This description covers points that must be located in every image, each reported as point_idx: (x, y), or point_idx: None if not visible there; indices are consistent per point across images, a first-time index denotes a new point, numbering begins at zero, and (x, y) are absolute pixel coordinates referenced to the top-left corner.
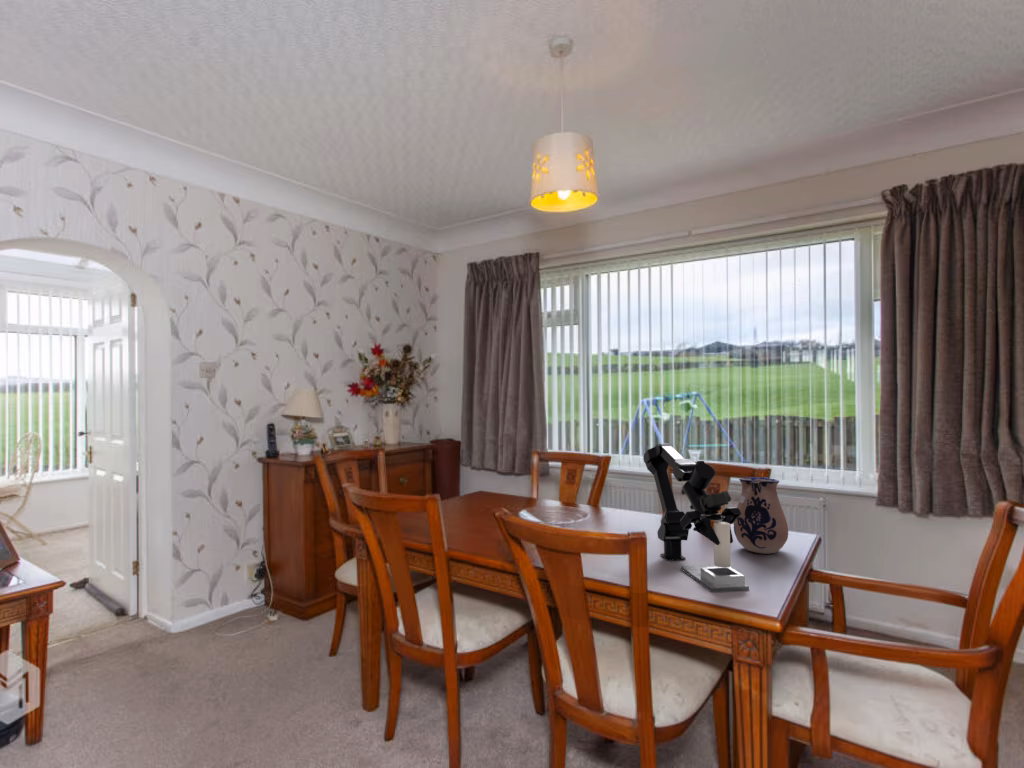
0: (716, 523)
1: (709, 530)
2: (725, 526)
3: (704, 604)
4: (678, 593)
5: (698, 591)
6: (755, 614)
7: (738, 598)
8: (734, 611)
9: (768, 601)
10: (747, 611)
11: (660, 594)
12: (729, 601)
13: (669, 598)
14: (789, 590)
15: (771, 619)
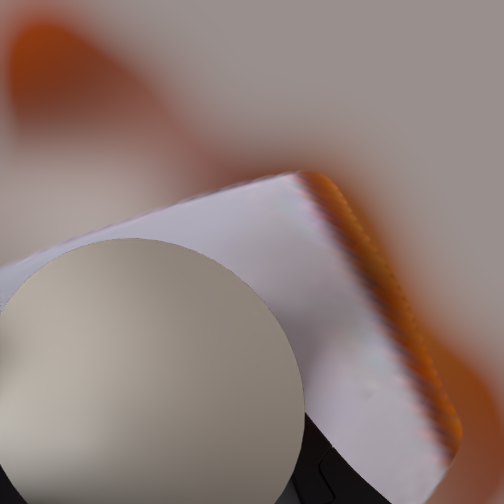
0: (233, 465)
1: (350, 475)
2: (203, 266)
3: (400, 322)
4: (406, 433)
5: (336, 420)
6: (326, 205)
7: (267, 297)
8: (361, 244)
9: (207, 229)
10: (329, 225)
11: (451, 444)
12: (316, 297)
13: (451, 406)
14: (64, 241)
15: (315, 173)
